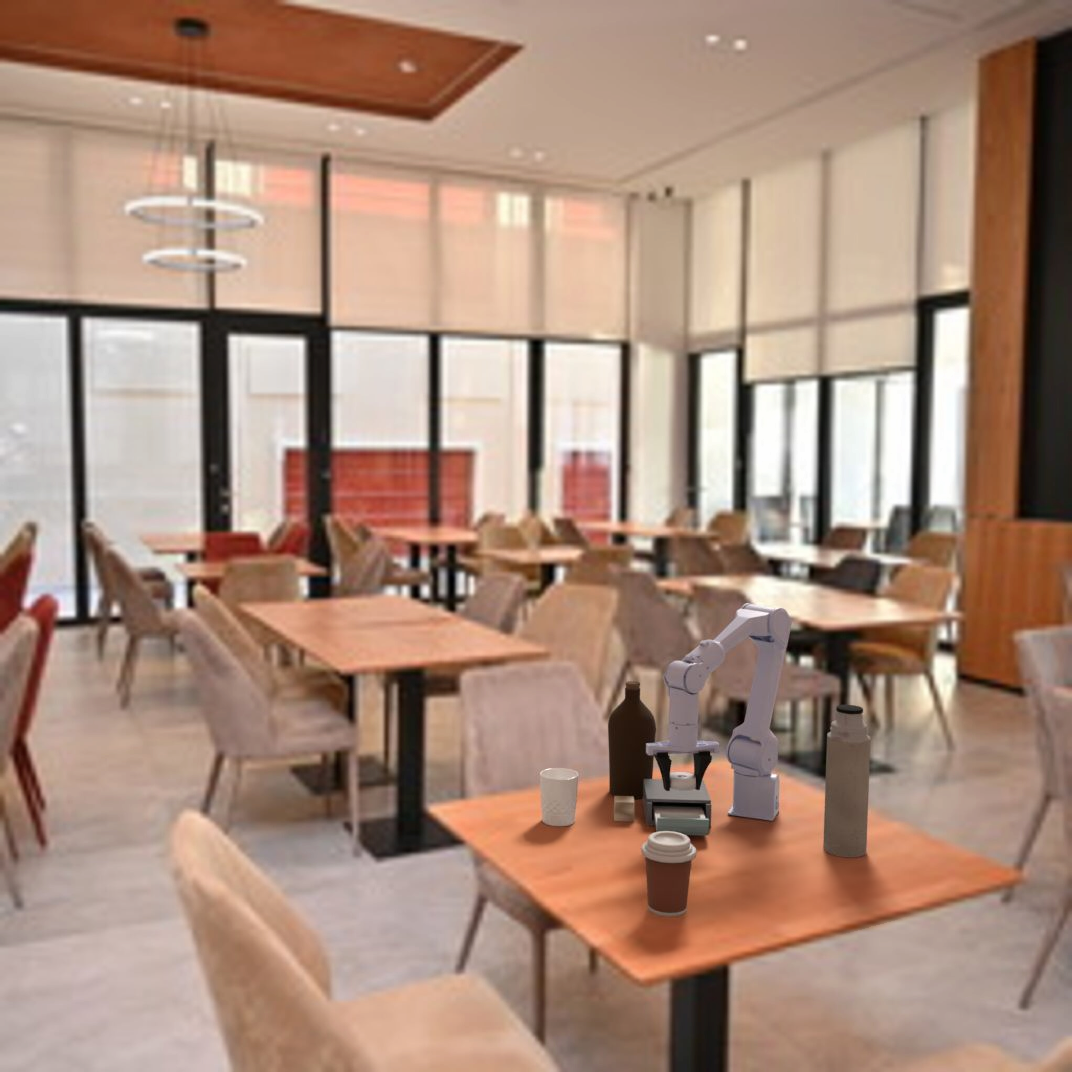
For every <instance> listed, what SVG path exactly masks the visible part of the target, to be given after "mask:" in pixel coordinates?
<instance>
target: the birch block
mask: <svg viewBox="0 0 1072 1072" xmlns="http://www.w3.org/2000/svg"><path fill="white" fill-rule="evenodd" d="M613 796H614V795H613ZM613 798H614V799H613V819H614V822H632V823H633V822H635V799H634V796H614V797H613Z"/></svg>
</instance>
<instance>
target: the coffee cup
mask: <svg viewBox="0 0 1072 1072" xmlns="http://www.w3.org/2000/svg"><path fill="white" fill-rule="evenodd" d="M640 852H641V854H642V855H643V857H644V860H645V876H646V877H645V878H646V891H647V895H646V896H647V910H648V911H649V912H650V913H652V914H654V915H657V916H660V917H668V918H672V917H673V918H674V917H679V916H683V915H684V914H686V913H687V908H688V907H687V905H688V899H689V898H688V895H689V888H690V887H689V886H690V878H691V870H692V869H691V868H692V860H693V859H695V858H696V856H697V848H696V847H695V846H694V845H693V844H692V842H691V839H690V837H689V836H688V835H684V834H682V833H678V832H672V831H659V832H657V831H656V832H652V833H650V834H649V835H648V836H647V840H646V841H645V842H643V843H642V844H641V848H640Z"/></svg>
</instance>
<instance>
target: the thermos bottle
mask: <svg viewBox="0 0 1072 1072" xmlns="http://www.w3.org/2000/svg"><path fill="white" fill-rule="evenodd" d="M863 713H864V708H863V707H861V706H859V705H853V704H840V705H839V704H838V705H837V706H836V715H835V716H836V717H835V718H836V719H835V720H833V721H832V722H831V723H830V725H831V726H830V728H829V729H830V731H829V732H827V735H826V757H825V759H826V761H825V784H824V785H825V786H824V787H825V791H824V817H823V819H824V820H823V842H822V843H823V844H822V845H823V846H822V847H823V850H824V851H825V852H826V853H828V854H831V855H832V856H837V857H843V858H860V857H863V856H865V855H866V853H867V848H868V847H867V845H868V843H867V842H868V821H869V819H868V818H869V817H868V816H869V815H868V814H869V813H868V812H869V792H870V791H869V789H870V766H871V765H870V763H871V762H870V761H871V760H870V759H871V740H872V739H871V736H869V735H868V731H869V729H868V725H867V723H865V722H863V721H864V720H863V719H864V715H863Z"/></svg>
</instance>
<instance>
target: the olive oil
mask: <svg viewBox="0 0 1072 1072" xmlns="http://www.w3.org/2000/svg"><path fill="white" fill-rule="evenodd" d="M640 687H641V683H640V682H639V681H637V680H636V681H635V680H628V681H626V682H625V688H624V699H623V700H622V701H621V702H620V704H619V705H617V707H616V708H614V710H612V712H611V714H610V716H609V719H608V722H607V735H608V736H607V737H608V738H607V739H608V764H609V765H608V766H609V767H608V768H609V769H608V770H609V771H608V772H609V775H608V776H609V780H608V781H609V793H610V794H611V795H612V796H634V800H639V799H643V779H653V777H654V776H653V775H654V773H653V772H654V760H655V757H654V754H653V755H648V754H647V753H646V743H656V733H657V723H656V720H655V719H656V718H655V716H654V714H653V713H652V712H651V710H650V709H649V708H648V707H647V705H646V704H644V702H643V701H642V700H641V688H640Z"/></svg>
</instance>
